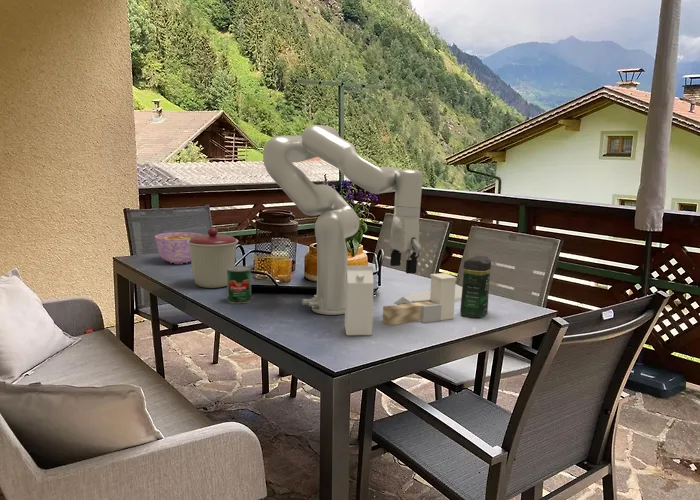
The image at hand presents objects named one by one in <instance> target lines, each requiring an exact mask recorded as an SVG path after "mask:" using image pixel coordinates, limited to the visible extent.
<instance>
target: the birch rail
mask: <svg viewBox="0 0 700 500" xmlns="http://www.w3.org/2000/svg"><path fill="white" fill-rule="evenodd" d="M423 305H433V303H431V302H428V301H425V302H417V303H409V304H408V303H406V304H394V305H393V304H392V305H386V306H385V305H384V306H383V307H382V323H383V324H386V325H387V326H393V325H401V324H408V323H413V322H414V323H415V322H416V323H417V322H420V321H422V306H423Z"/></svg>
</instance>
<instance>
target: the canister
mask: <svg viewBox="0 0 700 500" xmlns="http://www.w3.org/2000/svg"><path fill="white" fill-rule="evenodd" d="M187 243H188V244H189V249H190V256H191V261H190V263H191V271H192V275H193V281H194V283H195V284H196V285H197V286H198V287H201V288H205V289H217V288H224V287H227V268H228V267H232V266H236V265H235V261H236V253H237V244H238V243H239V240H238V239H237V238H235V237H234V236H232V235H229V234H228V235H227V234H222V233H221V234H219V233H218V229H217V228H215V227H210V228H208V230H207V234H202V235H198V236H194V237H192V238H191V239H190V240H188V241H187Z"/></svg>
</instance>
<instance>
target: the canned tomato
mask: <svg viewBox="0 0 700 500" xmlns="http://www.w3.org/2000/svg"><path fill="white" fill-rule="evenodd" d="M226 290H227V291H226V293H227V295H226V297H227V299H226V301H227V302H228V303H229V302H230V304H234V303H243V304H247V303H250V302H252V268H251V267H250V266H245V265H234V266H232V267H228V268H227V286H226Z"/></svg>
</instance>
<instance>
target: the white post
mask: <svg viewBox="0 0 700 500" xmlns="http://www.w3.org/2000/svg"><path fill="white" fill-rule="evenodd" d="M429 276H430V290H431V291H430V299H422V300H412V303H417V302H425V301H428V302H431V303H433V305H423V306H422V321H421V322H422V323H424V324H425V323H434V322H441V321H444V320H445V321H446V320H453V319H454V316H455V302H454V300H455V284H457V280H458V279H457V277H456V276H454V275H452V274H449V273H447V272H444V273H442V272H441V273H430V275H429Z"/></svg>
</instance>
